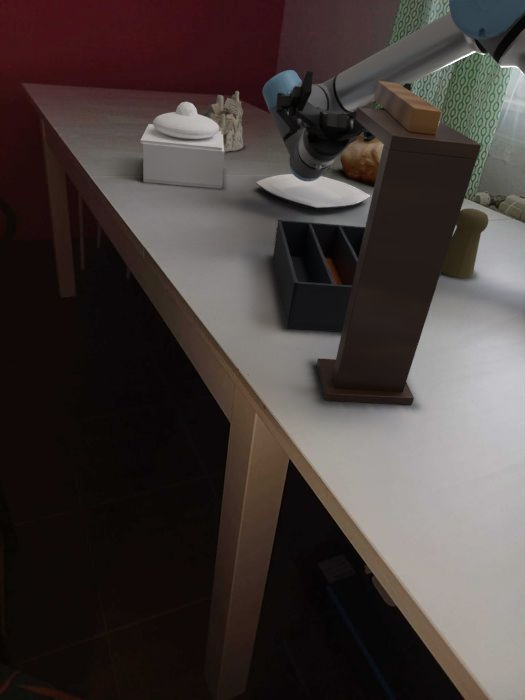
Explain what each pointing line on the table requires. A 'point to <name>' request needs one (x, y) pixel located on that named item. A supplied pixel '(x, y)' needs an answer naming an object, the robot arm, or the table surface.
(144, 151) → the butter dish
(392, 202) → the shelf stand
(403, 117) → the bar
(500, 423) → the table surface
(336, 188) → the plate
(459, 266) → the cork
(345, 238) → the slot rack
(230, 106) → the miniature castle sculpture
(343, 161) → the ceramic vessel
